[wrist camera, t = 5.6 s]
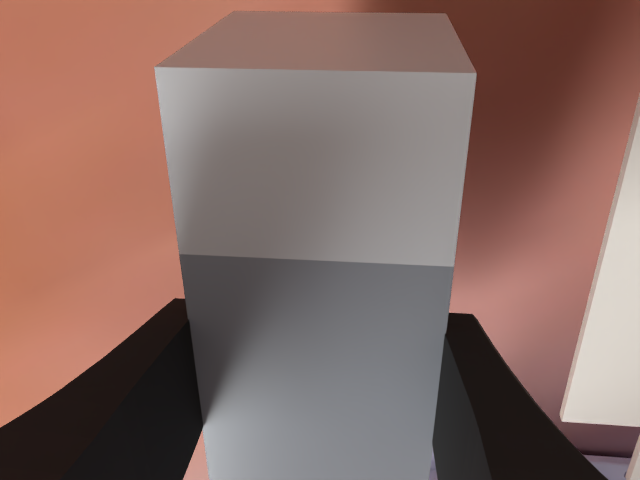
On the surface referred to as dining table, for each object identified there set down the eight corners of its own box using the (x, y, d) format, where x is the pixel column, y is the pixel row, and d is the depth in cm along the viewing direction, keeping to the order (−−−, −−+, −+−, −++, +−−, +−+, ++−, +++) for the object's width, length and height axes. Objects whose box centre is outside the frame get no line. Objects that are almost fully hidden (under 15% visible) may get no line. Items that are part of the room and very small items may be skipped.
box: (260, 403, 18) (220, 561, 14) (233, 10, 13) (154, 67, 9) (410, 413, 18) (417, 578, 13) (446, 13, 12) (476, 73, 8)
